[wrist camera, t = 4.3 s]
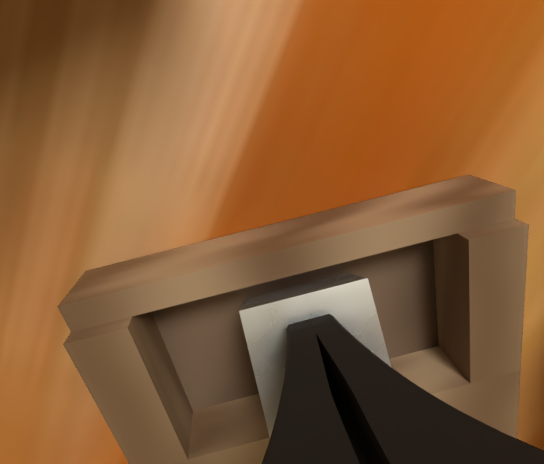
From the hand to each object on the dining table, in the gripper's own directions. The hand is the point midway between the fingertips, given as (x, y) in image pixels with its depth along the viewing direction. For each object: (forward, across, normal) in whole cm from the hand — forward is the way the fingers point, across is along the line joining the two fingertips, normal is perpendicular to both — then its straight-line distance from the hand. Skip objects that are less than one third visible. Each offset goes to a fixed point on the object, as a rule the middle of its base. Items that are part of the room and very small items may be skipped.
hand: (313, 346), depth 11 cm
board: (+4, 0, +10) cm, 10 cm away
